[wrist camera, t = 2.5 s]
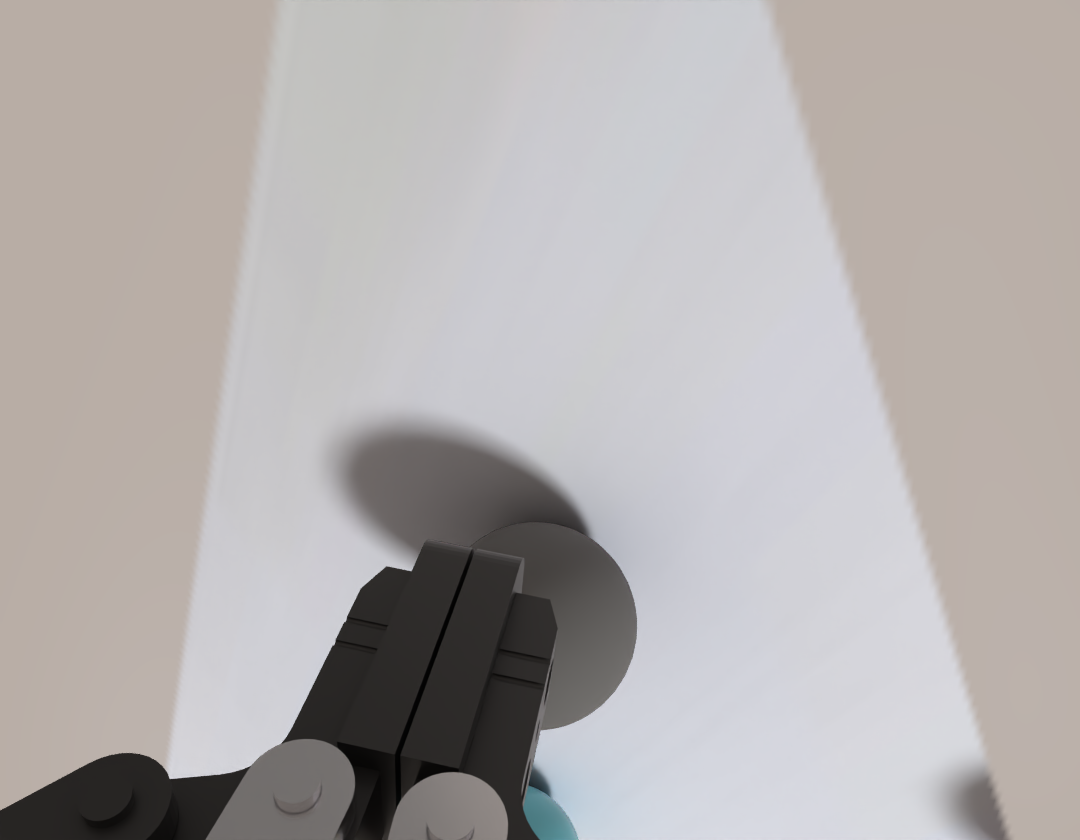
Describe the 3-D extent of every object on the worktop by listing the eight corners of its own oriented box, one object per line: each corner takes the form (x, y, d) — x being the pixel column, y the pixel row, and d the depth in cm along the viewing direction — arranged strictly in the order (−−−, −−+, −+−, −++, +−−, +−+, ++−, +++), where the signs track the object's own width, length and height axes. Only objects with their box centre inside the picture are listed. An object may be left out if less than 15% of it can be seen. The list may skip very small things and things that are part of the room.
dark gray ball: (613, 641, 30) (587, 798, 25) (448, 585, 30) (391, 732, 25) (673, 519, 27) (655, 676, 22) (486, 456, 27) (427, 598, 22)
